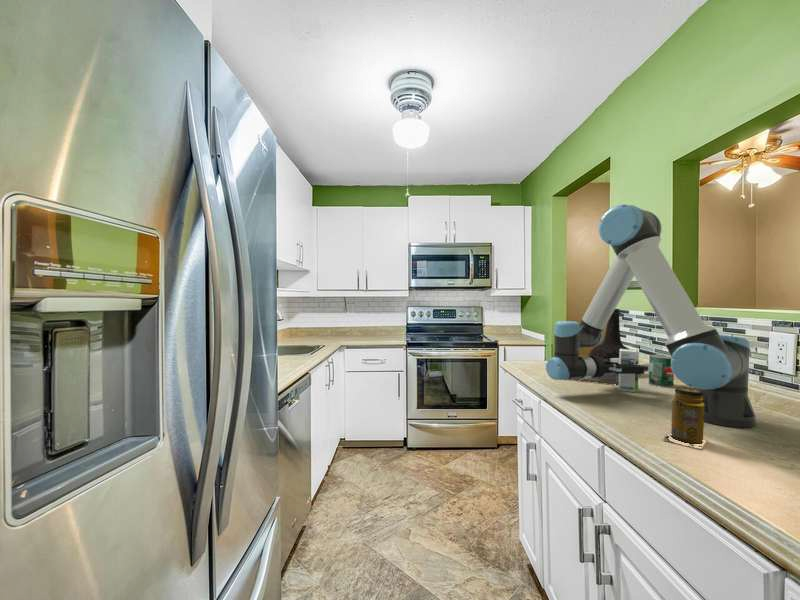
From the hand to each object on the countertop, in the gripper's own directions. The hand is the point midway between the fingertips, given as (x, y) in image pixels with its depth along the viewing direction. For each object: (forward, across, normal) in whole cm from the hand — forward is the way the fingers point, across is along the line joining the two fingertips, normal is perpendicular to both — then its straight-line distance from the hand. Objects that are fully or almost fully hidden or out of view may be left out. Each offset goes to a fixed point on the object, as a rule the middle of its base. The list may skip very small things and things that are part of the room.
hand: (637, 364), depth 138 cm
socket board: (-4, -19, -9) cm, 21 cm away
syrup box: (-4, 0, -9) cm, 10 cm away
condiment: (-33, +40, -9) cm, 53 cm away
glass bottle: (+16, -25, -9) cm, 31 cm away
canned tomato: (+16, -3, -9) cm, 18 cm away
